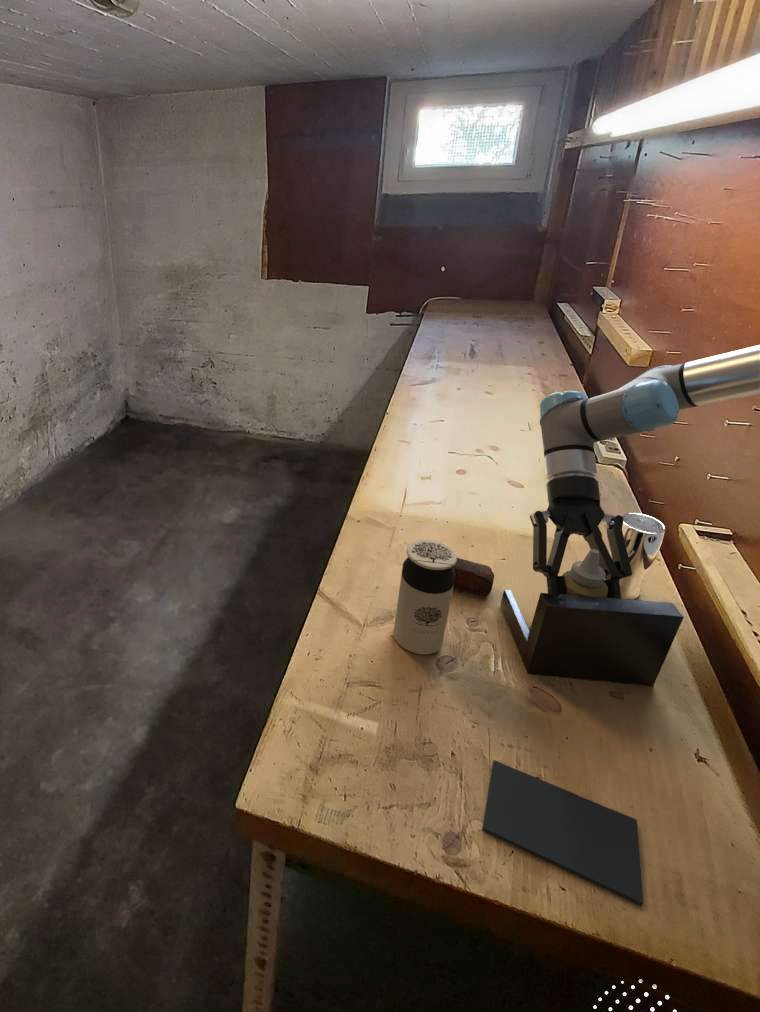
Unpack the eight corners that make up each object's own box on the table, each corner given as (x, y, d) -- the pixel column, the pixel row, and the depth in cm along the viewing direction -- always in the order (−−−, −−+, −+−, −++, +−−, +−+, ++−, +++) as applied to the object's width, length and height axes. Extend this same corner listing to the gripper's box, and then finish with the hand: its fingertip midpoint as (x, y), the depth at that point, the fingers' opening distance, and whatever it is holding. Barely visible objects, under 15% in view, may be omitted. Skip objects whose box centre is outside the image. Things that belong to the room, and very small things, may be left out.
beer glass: (648, 592, 104) (674, 524, 97) (630, 607, 101) (656, 539, 94) (607, 572, 109) (630, 507, 103) (589, 586, 106) (611, 520, 99)
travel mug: (396, 616, 101) (407, 534, 93) (443, 628, 98) (459, 543, 90) (390, 648, 94) (402, 562, 86) (440, 661, 91) (458, 573, 83)
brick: (429, 581, 109) (433, 562, 107) (433, 570, 112) (437, 551, 110) (489, 599, 104) (494, 579, 102) (491, 586, 107) (496, 566, 105)
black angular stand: (499, 606, 102) (515, 543, 96) (607, 615, 99) (630, 550, 93) (527, 674, 88) (547, 606, 82) (653, 686, 86) (684, 617, 79)
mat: (635, 822, 68) (637, 819, 68) (641, 906, 61) (643, 903, 60) (492, 762, 76) (493, 759, 75) (482, 830, 68) (483, 827, 68)
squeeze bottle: (531, 620, 99) (555, 536, 91) (578, 620, 98) (606, 535, 90) (554, 655, 91) (582, 567, 84) (605, 655, 91) (638, 567, 83)
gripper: (622, 488, 98) (641, 626, 91) (503, 482, 101) (512, 615, 94) (646, 476, 91) (669, 625, 84) (518, 471, 94) (529, 613, 87)
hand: (586, 620), depth 89 cm, fingers closed on squeeze bottle, 6 cm apart
